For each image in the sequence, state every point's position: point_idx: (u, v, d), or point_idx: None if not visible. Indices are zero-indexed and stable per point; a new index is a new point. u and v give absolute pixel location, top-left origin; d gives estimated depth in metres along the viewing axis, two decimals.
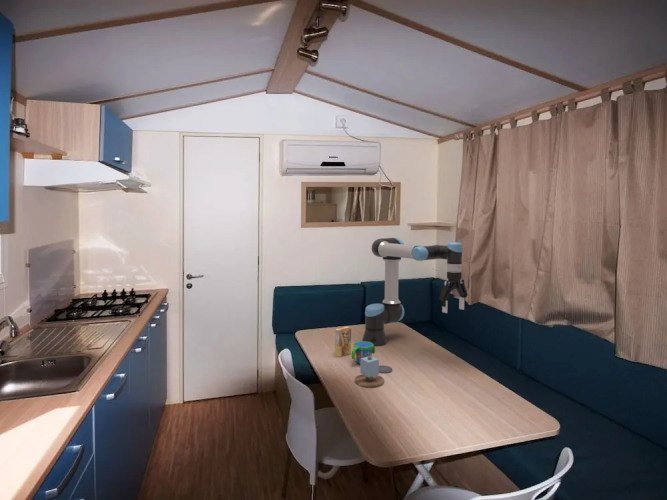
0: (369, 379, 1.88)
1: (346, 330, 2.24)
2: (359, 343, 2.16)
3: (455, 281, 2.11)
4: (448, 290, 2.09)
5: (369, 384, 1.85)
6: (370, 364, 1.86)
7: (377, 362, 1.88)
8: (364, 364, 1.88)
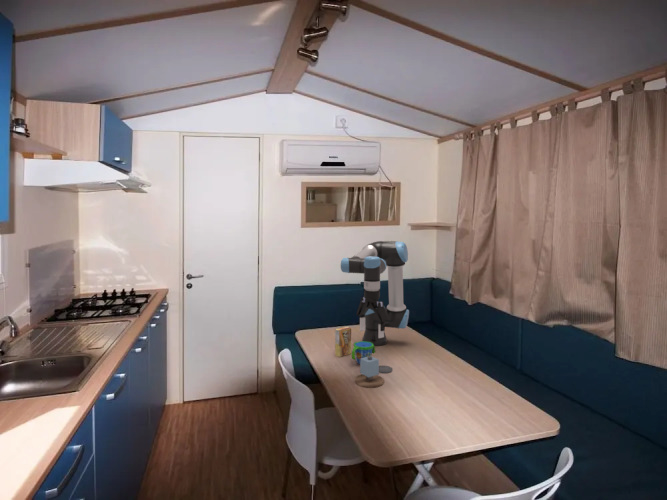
0: (369, 379, 1.88)
1: (346, 330, 2.24)
2: (359, 343, 2.16)
3: (369, 300, 1.87)
4: None
5: (369, 384, 1.85)
6: (370, 364, 1.86)
7: (377, 362, 1.88)
8: (364, 364, 1.88)
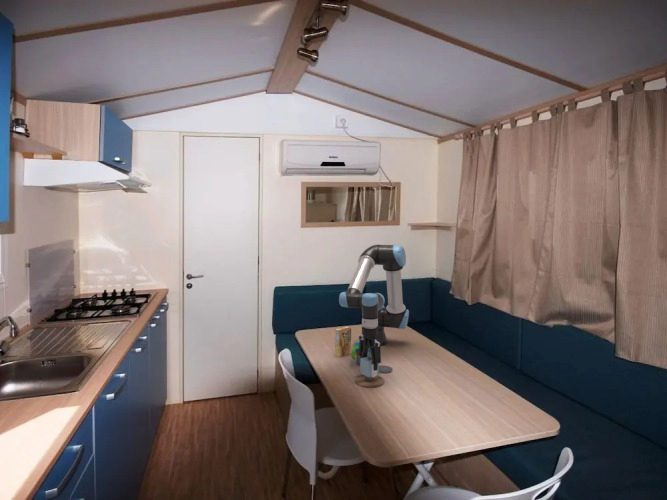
0: (369, 379, 1.88)
1: (346, 330, 2.24)
2: None
3: (367, 337, 1.88)
4: None
5: (369, 384, 1.85)
6: (370, 364, 1.86)
7: None
8: (364, 364, 1.88)
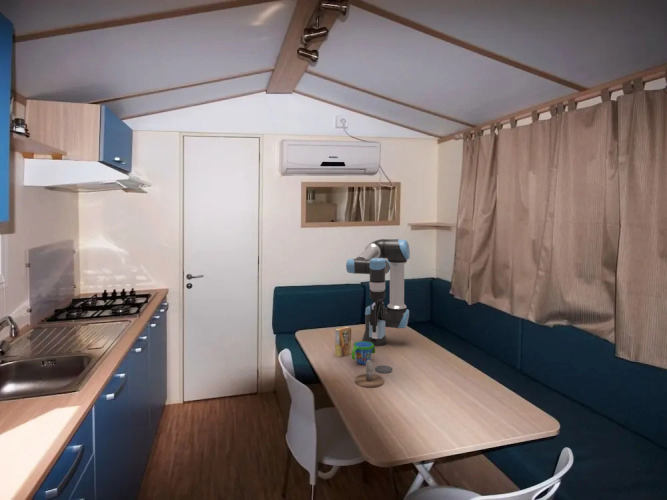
0: (369, 379, 1.88)
1: (346, 330, 2.24)
2: (359, 343, 2.16)
3: None
4: None
5: (369, 384, 1.85)
6: (371, 325, 1.93)
7: (379, 326, 1.92)
8: None
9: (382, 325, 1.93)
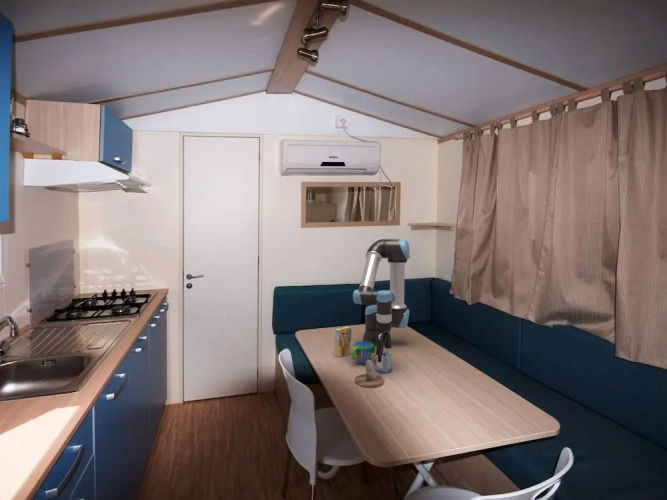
0: (369, 379, 1.88)
1: (346, 330, 2.24)
2: (359, 343, 2.16)
3: None
4: None
5: (369, 384, 1.85)
6: None
7: (385, 360, 2.00)
8: None
9: (388, 359, 2.01)
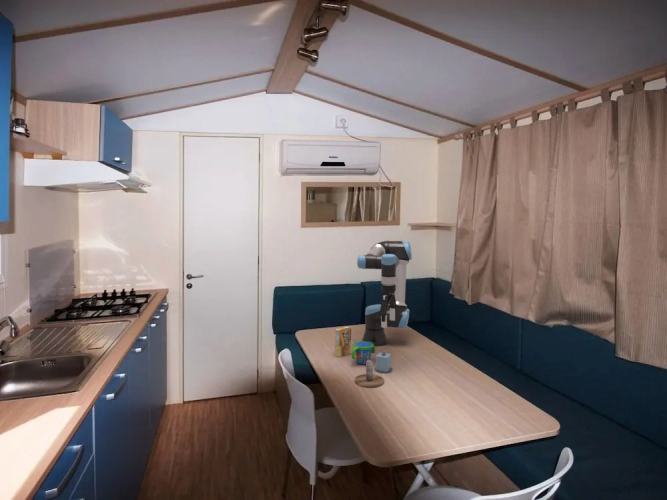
0: (369, 379, 1.88)
1: (346, 330, 2.24)
2: (359, 343, 2.16)
3: None
4: None
5: (369, 384, 1.85)
6: (378, 358, 2.02)
7: (385, 360, 2.00)
8: None
9: (388, 359, 2.01)
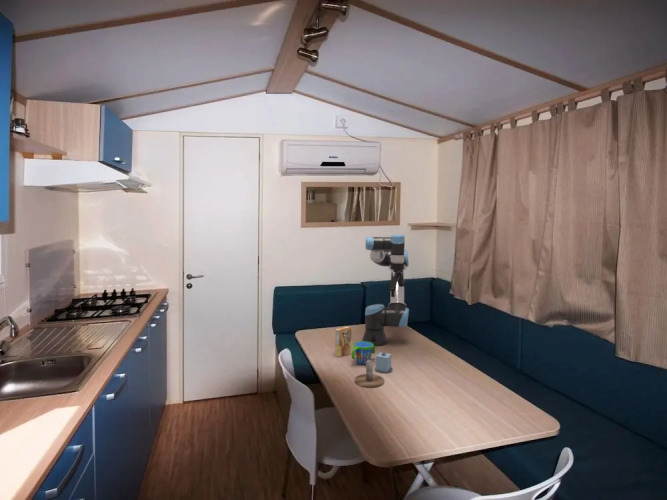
0: (369, 379, 1.88)
1: (346, 330, 2.24)
2: (359, 343, 2.16)
3: None
4: None
5: (369, 384, 1.85)
6: (378, 358, 2.02)
7: (385, 360, 2.00)
8: None
9: (388, 359, 2.01)
